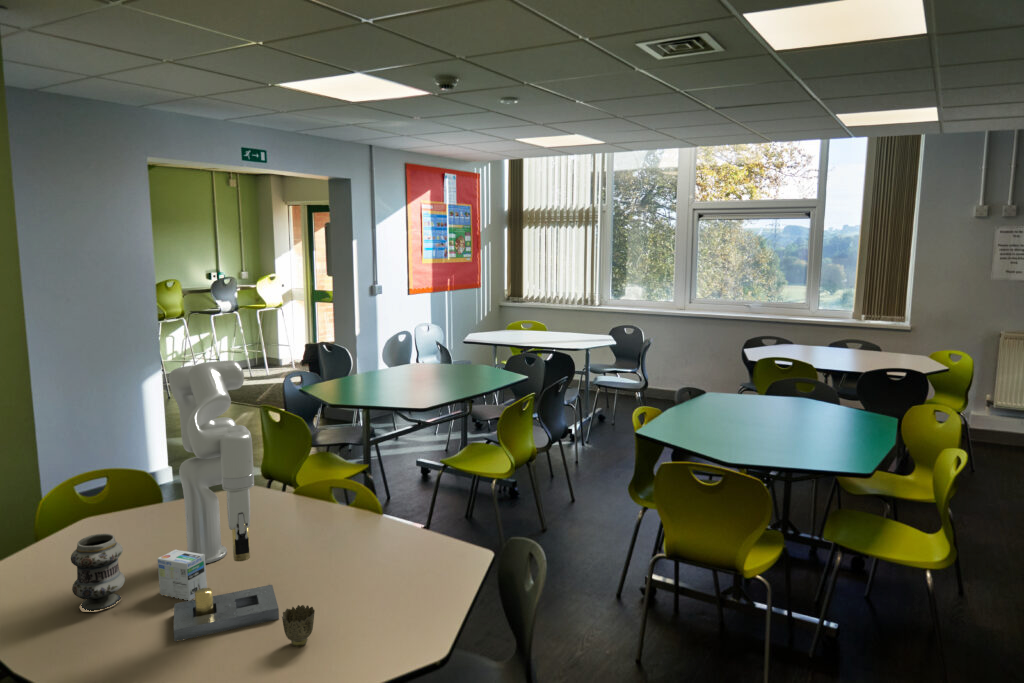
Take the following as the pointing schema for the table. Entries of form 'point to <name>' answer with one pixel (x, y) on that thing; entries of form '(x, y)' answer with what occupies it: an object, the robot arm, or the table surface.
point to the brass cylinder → (236, 557)
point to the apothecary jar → (97, 571)
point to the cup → (298, 624)
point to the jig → (226, 612)
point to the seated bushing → (204, 602)
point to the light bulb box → (181, 574)
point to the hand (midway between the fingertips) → (241, 549)
